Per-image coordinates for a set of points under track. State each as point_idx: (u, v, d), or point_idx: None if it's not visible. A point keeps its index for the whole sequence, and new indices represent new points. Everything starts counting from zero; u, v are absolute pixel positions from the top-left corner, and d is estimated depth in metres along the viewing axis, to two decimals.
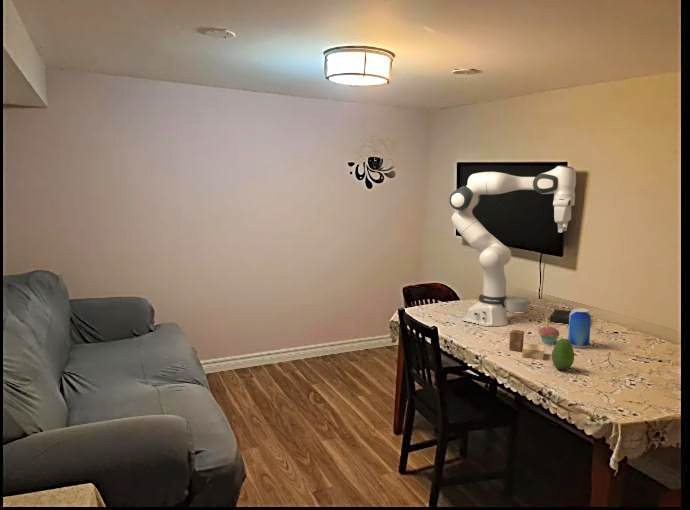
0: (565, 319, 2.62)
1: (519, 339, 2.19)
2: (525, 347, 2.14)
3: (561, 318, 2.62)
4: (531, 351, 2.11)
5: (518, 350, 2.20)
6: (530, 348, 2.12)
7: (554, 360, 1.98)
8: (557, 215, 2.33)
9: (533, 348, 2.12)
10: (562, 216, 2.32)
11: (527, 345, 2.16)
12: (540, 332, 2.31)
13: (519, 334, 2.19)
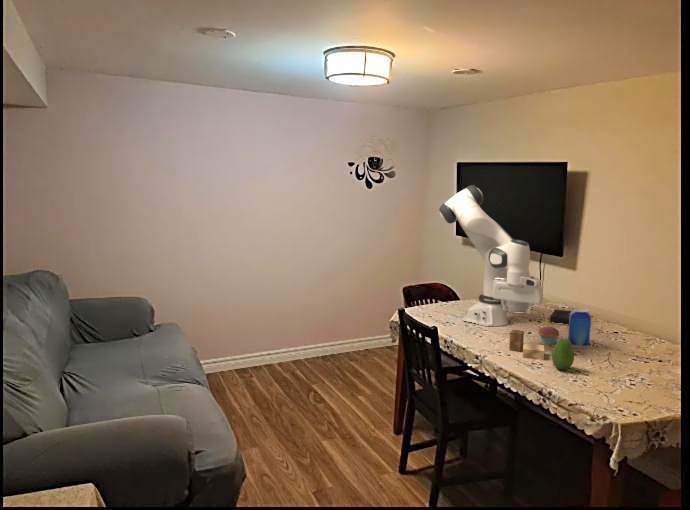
0: (565, 319, 2.62)
1: (519, 339, 2.19)
2: (525, 347, 2.14)
3: (561, 318, 2.62)
4: (531, 351, 2.11)
5: (518, 350, 2.20)
6: (530, 348, 2.12)
7: (554, 360, 1.98)
8: (541, 296, 2.13)
9: (533, 348, 2.12)
10: (542, 296, 2.15)
11: (527, 345, 2.16)
12: (540, 332, 2.31)
13: (519, 334, 2.19)
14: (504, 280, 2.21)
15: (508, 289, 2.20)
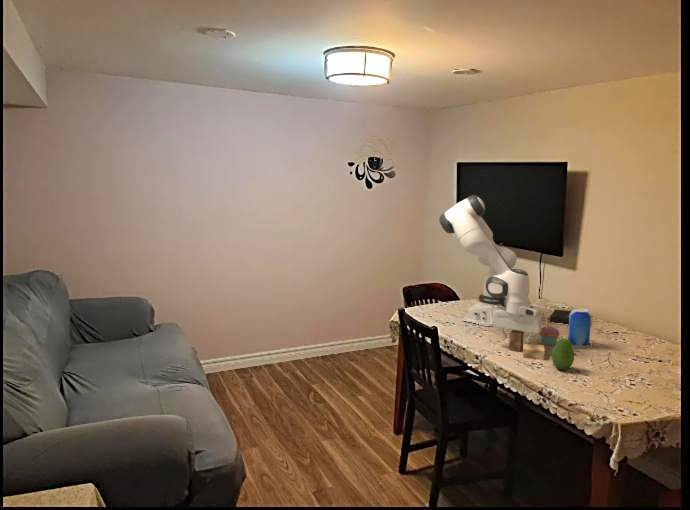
0: (565, 319, 2.62)
1: (519, 339, 2.19)
2: (525, 347, 2.14)
3: (561, 318, 2.62)
4: (532, 351, 2.11)
5: (518, 350, 2.20)
6: (530, 348, 2.12)
7: (554, 360, 1.98)
8: (540, 325, 2.15)
9: (533, 348, 2.12)
10: (541, 325, 2.17)
11: (527, 345, 2.16)
12: (540, 332, 2.31)
13: (519, 334, 2.19)
14: (503, 308, 2.23)
15: (507, 318, 2.21)
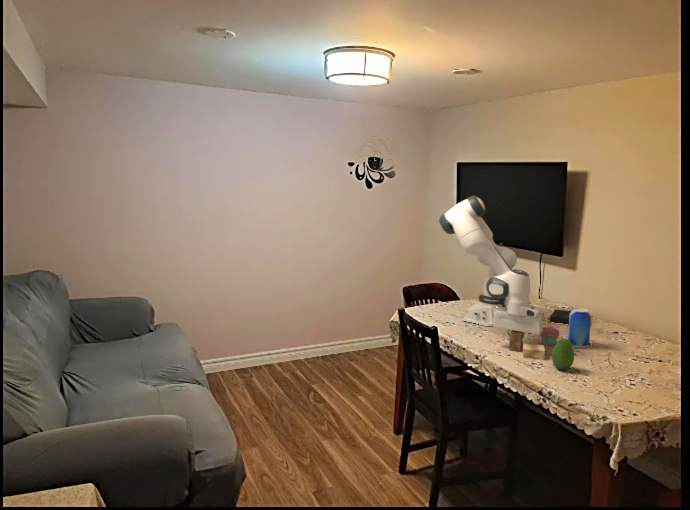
0: (565, 319, 2.62)
1: (519, 339, 2.19)
2: (525, 347, 2.13)
3: (561, 318, 2.62)
4: (532, 351, 2.11)
5: (518, 350, 2.20)
6: (531, 348, 2.12)
7: (554, 360, 1.98)
8: (541, 326, 2.15)
9: (533, 348, 2.12)
10: (542, 326, 2.17)
11: (527, 345, 2.16)
12: None
13: (519, 334, 2.19)
14: (504, 309, 2.23)
15: (508, 318, 2.21)
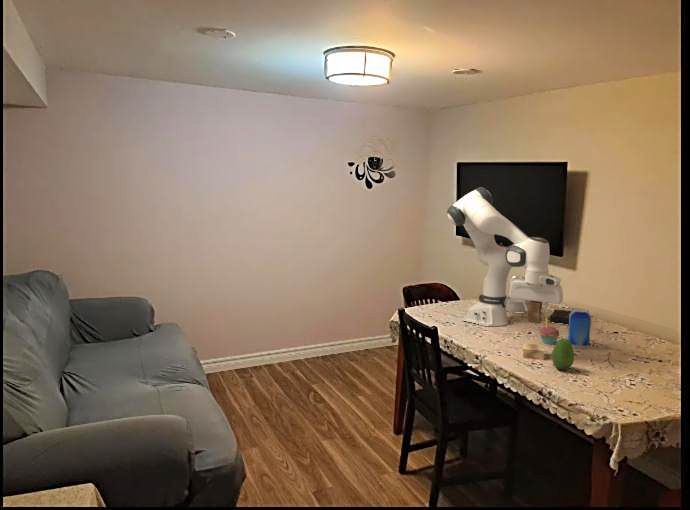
0: (565, 319, 2.62)
1: (538, 310, 2.09)
2: (525, 347, 2.14)
3: (561, 318, 2.62)
4: (532, 351, 2.11)
5: (536, 321, 2.10)
6: (530, 348, 2.12)
7: (554, 360, 1.98)
8: (561, 295, 2.05)
9: (533, 348, 2.12)
10: (562, 295, 2.07)
11: (527, 345, 2.16)
12: (540, 332, 2.31)
13: (538, 304, 2.09)
14: (522, 279, 2.13)
15: (526, 288, 2.12)
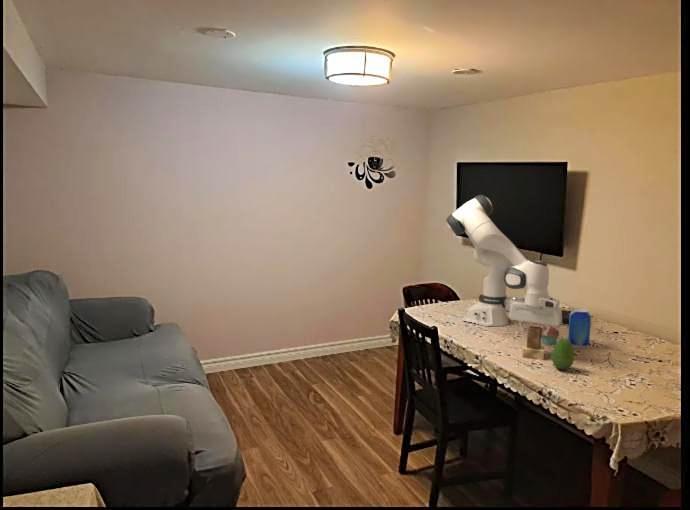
0: (565, 319, 2.62)
1: (537, 335, 2.11)
2: (525, 347, 2.14)
3: None
4: (531, 351, 2.11)
5: (536, 347, 2.11)
6: (530, 348, 2.12)
7: (554, 360, 1.98)
8: (560, 318, 2.07)
9: None
10: (561, 317, 2.08)
11: None
12: None
13: (537, 330, 2.11)
14: (521, 300, 2.14)
15: (526, 310, 2.13)
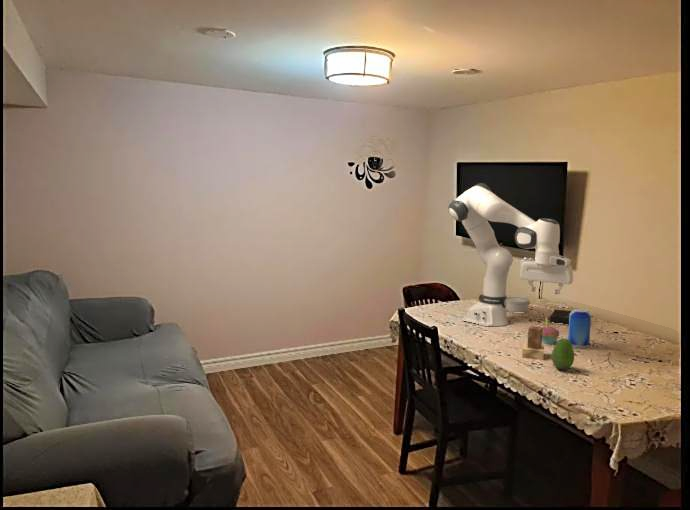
0: (565, 319, 2.62)
1: (538, 336, 2.11)
2: (525, 347, 2.14)
3: (561, 318, 2.62)
4: (531, 351, 2.11)
5: (537, 347, 2.12)
6: (530, 348, 2.12)
7: (554, 360, 1.98)
8: (572, 276, 2.07)
9: None
10: (572, 276, 2.08)
11: (527, 345, 2.16)
12: None
13: (538, 330, 2.11)
14: (532, 260, 2.14)
15: (537, 269, 2.13)
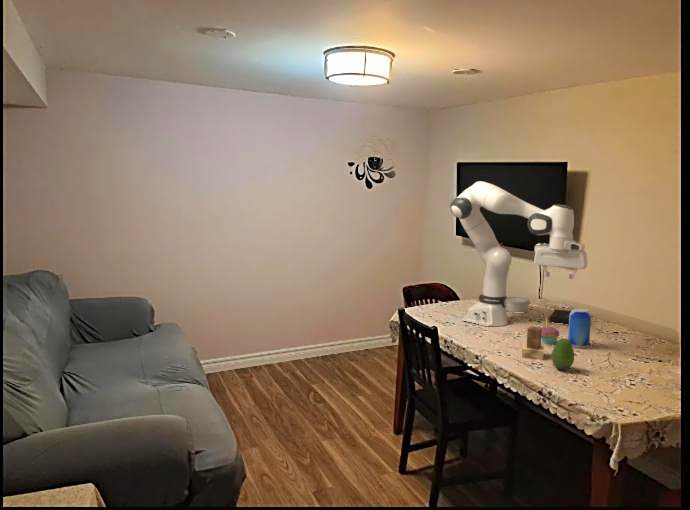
0: (565, 319, 2.62)
1: (537, 336, 2.11)
2: (525, 347, 2.14)
3: (561, 318, 2.62)
4: (531, 351, 2.11)
5: (536, 347, 2.11)
6: (530, 348, 2.12)
7: (554, 360, 1.98)
8: (586, 261, 2.10)
9: None
10: (586, 261, 2.12)
11: (526, 345, 2.16)
12: None
13: (537, 331, 2.11)
14: (546, 246, 2.18)
15: (551, 255, 2.16)
